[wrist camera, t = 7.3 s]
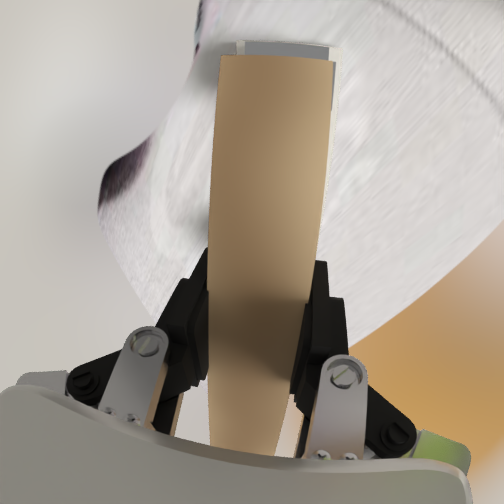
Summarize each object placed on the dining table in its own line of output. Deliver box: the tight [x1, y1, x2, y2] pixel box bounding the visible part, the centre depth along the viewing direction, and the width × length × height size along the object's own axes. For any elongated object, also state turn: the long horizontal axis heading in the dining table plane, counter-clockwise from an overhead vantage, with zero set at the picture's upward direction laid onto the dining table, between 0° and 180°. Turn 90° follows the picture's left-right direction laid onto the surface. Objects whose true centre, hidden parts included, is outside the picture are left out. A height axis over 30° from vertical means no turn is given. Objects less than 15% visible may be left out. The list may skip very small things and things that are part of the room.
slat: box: [207, 55, 333, 456], centre depth 11 cm, size 3×16×4 cm, turn 178°
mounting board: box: [236, 40, 343, 246], centre depth 22 cm, size 8×21×4 cm, turn 178°
